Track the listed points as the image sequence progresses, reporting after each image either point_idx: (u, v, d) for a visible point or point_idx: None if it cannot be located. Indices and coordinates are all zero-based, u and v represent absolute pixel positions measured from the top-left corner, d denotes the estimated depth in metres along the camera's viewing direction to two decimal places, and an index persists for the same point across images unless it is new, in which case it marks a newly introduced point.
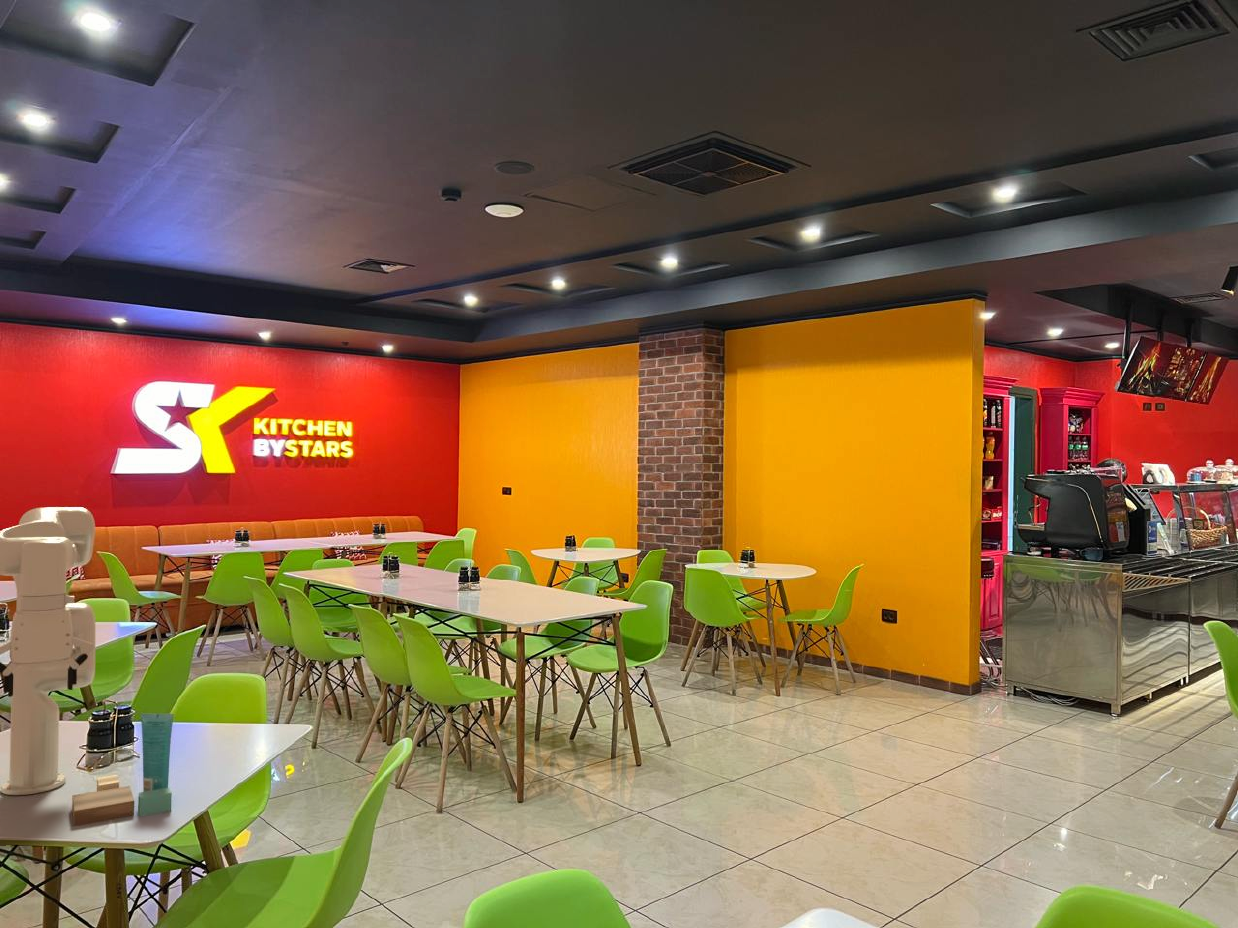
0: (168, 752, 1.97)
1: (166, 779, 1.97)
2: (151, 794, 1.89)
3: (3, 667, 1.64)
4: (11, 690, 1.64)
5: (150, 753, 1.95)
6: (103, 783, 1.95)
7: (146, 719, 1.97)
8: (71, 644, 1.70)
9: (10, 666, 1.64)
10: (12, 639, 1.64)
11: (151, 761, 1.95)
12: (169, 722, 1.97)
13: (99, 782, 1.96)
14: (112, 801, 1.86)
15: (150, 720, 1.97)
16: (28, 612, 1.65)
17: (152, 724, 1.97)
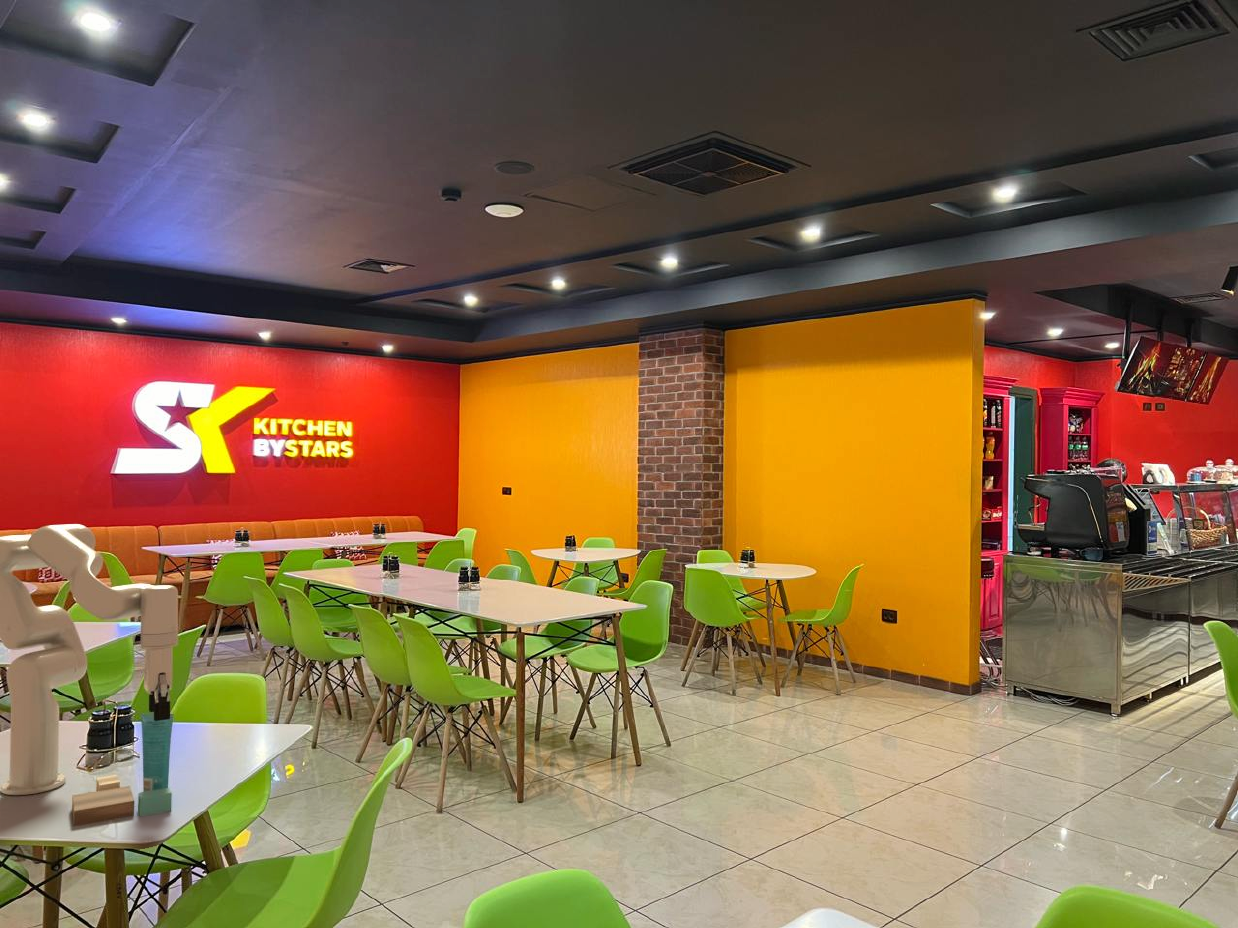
0: (168, 752, 1.97)
1: (166, 779, 1.97)
2: (151, 794, 1.89)
3: None
4: None
5: (150, 753, 1.95)
6: (103, 783, 1.95)
7: (146, 719, 1.97)
8: None
9: None
10: (170, 669, 1.95)
11: (151, 761, 1.95)
12: (169, 722, 1.97)
13: (99, 782, 1.96)
14: (112, 801, 1.86)
15: (150, 720, 1.97)
16: (174, 645, 1.97)
17: (152, 724, 1.97)
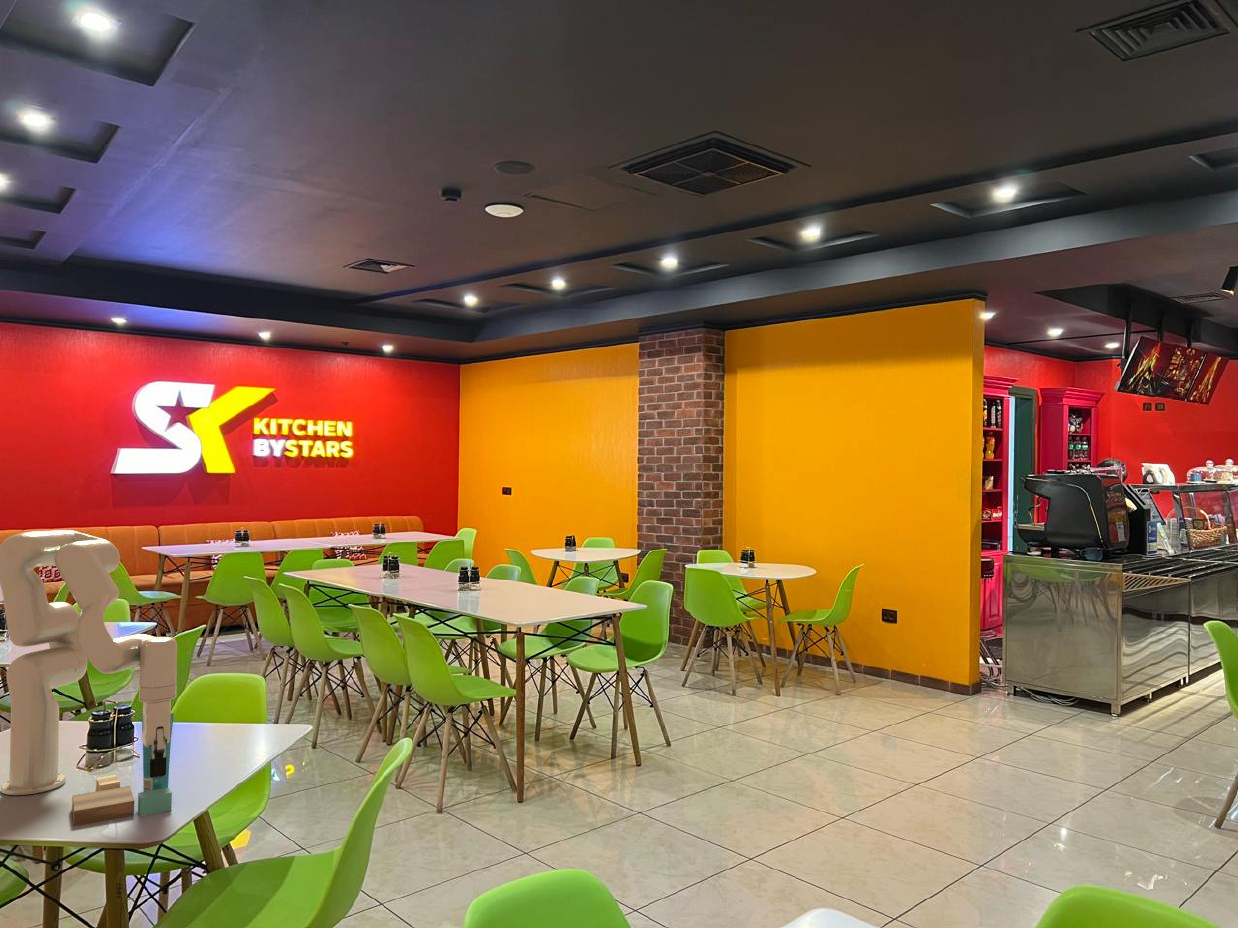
0: (168, 752, 1.97)
1: (166, 779, 1.97)
2: (152, 794, 1.89)
3: None
4: None
5: (150, 752, 1.96)
6: (104, 783, 1.96)
7: None
8: None
9: None
10: (168, 723, 1.94)
11: None
12: (170, 722, 1.97)
13: (99, 782, 1.96)
14: (112, 801, 1.86)
15: None
16: (173, 697, 1.97)
17: None
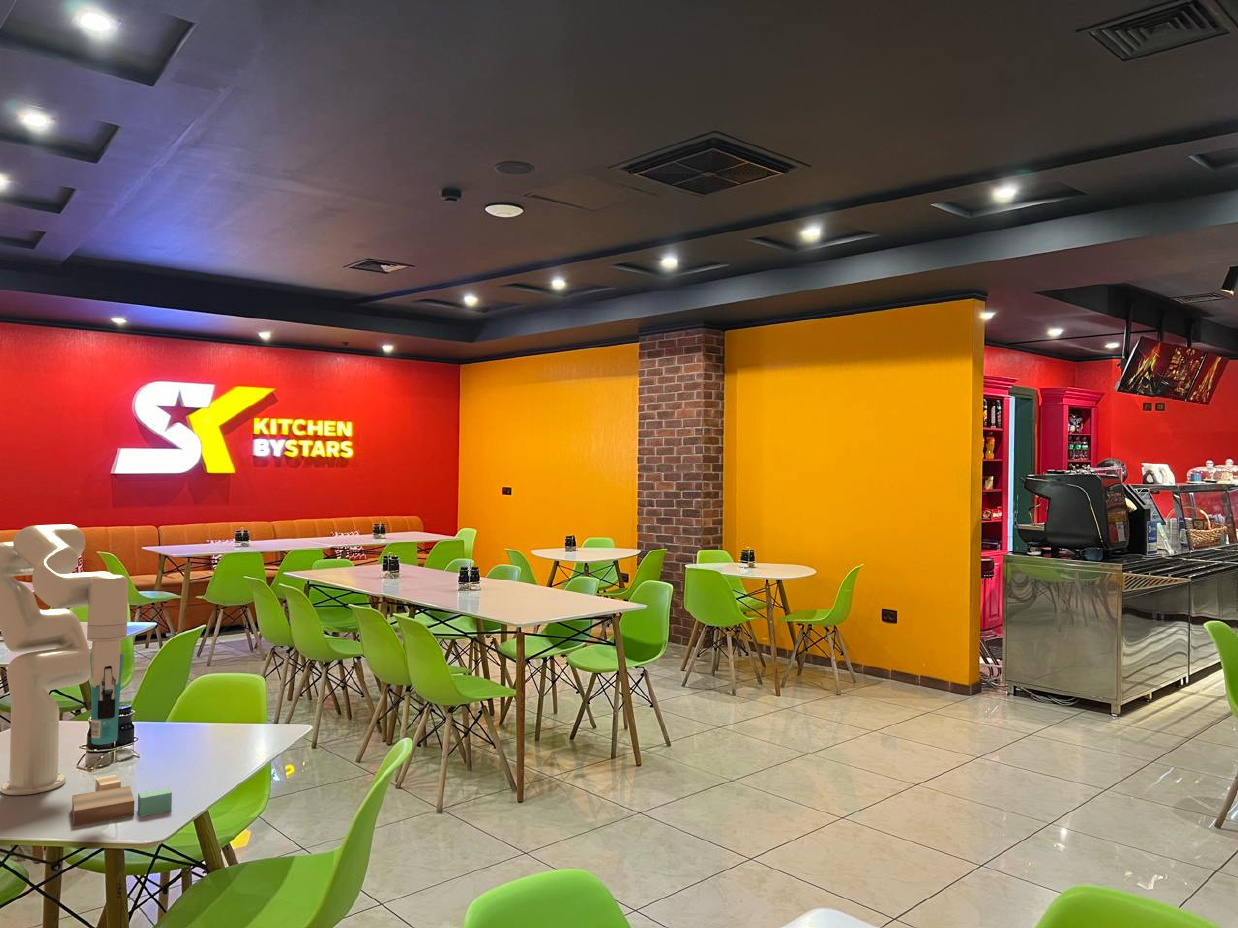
0: (118, 694, 1.89)
1: (115, 722, 1.89)
2: (152, 794, 1.89)
3: None
4: None
5: None
6: (104, 783, 1.96)
7: None
8: None
9: None
10: (117, 663, 1.87)
11: None
12: None
13: (100, 782, 1.96)
14: (112, 801, 1.86)
15: None
16: (123, 637, 1.89)
17: None
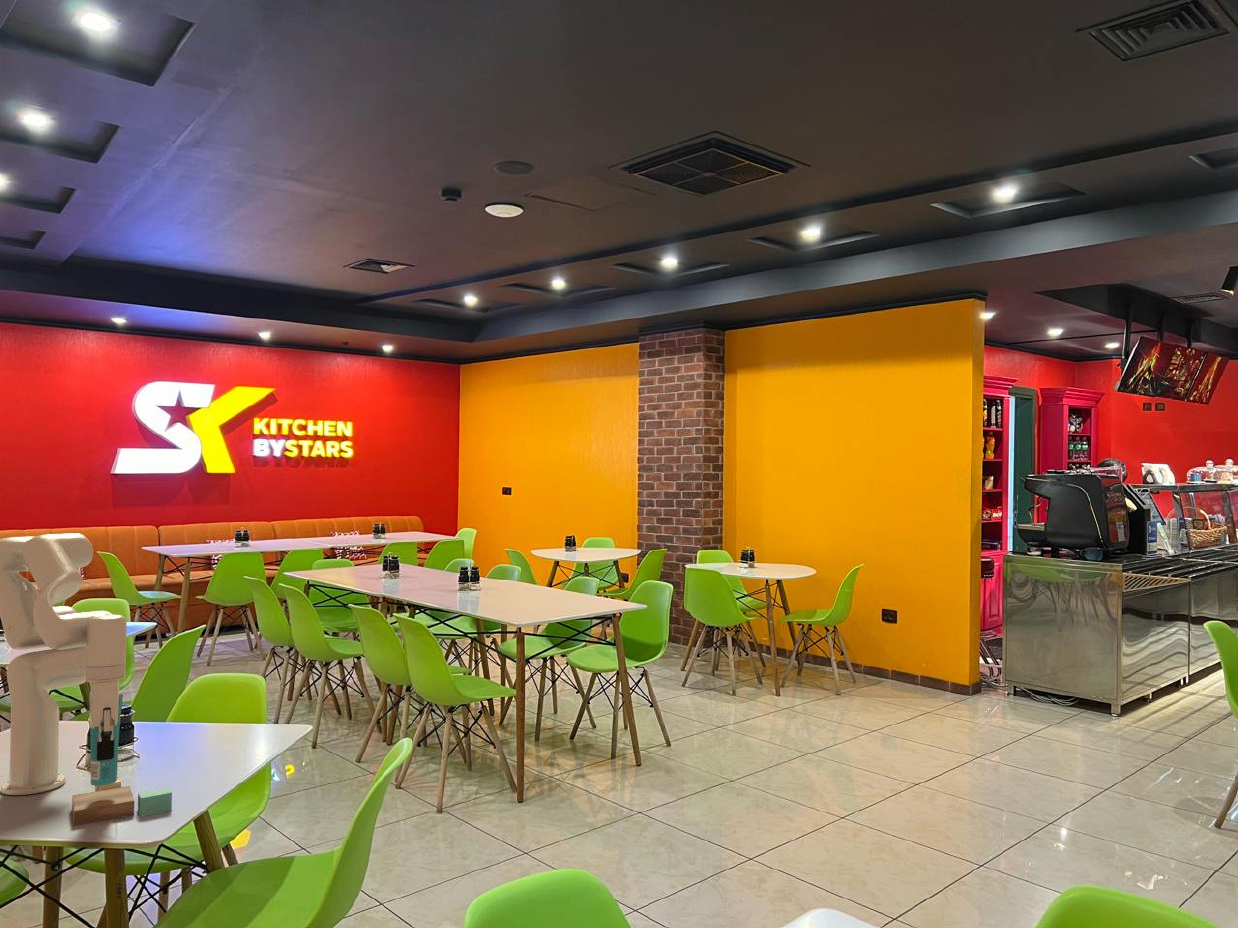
0: (117, 734, 1.89)
1: (115, 762, 1.88)
2: (152, 794, 1.89)
3: None
4: None
5: None
6: None
7: None
8: None
9: None
10: (116, 704, 1.86)
11: None
12: None
13: None
14: (112, 801, 1.86)
15: None
16: (121, 678, 1.89)
17: None
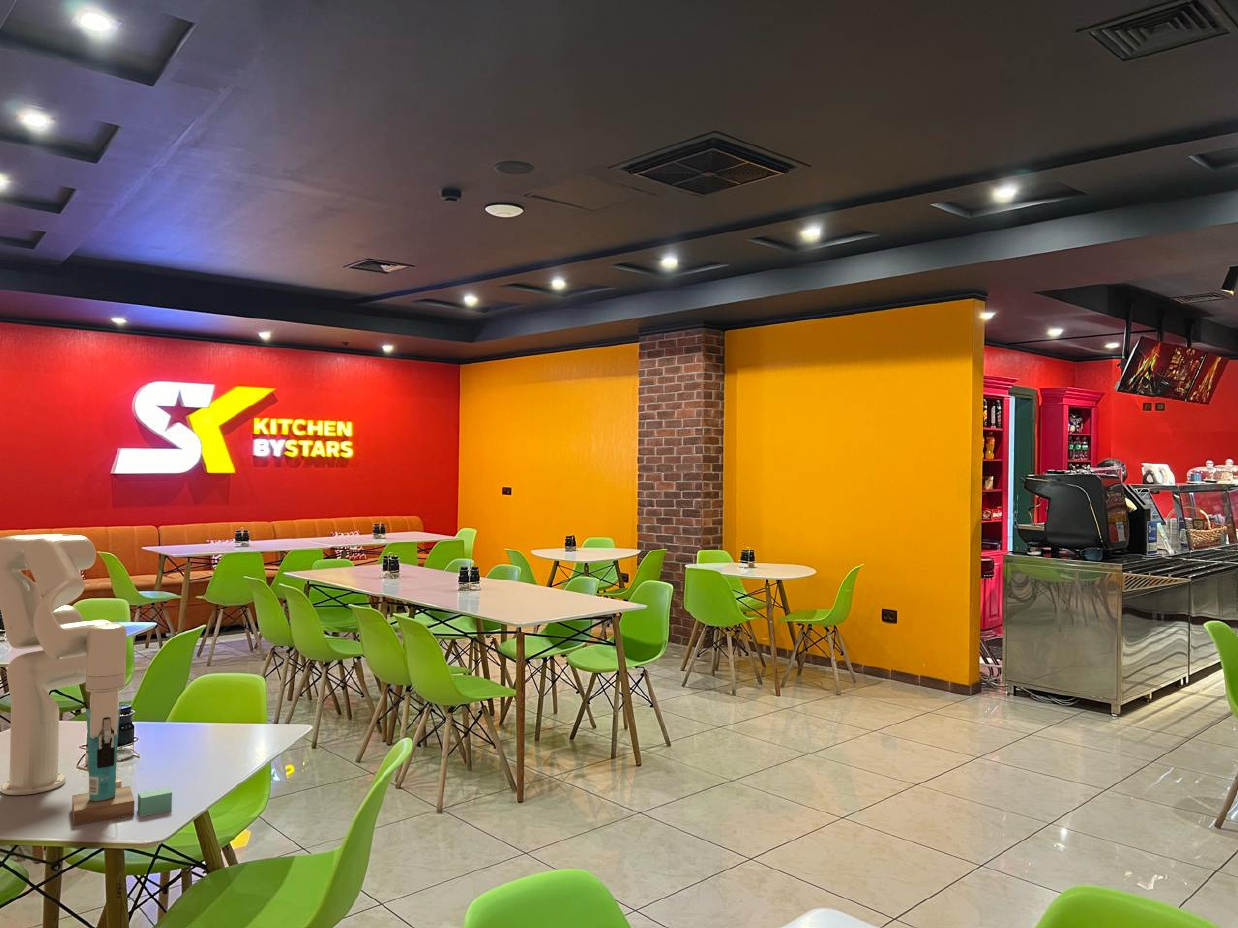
0: (115, 749, 1.89)
1: (113, 777, 1.89)
2: (152, 794, 1.89)
3: None
4: None
5: (95, 750, 1.87)
6: None
7: None
8: None
9: None
10: (115, 714, 1.86)
11: None
12: None
13: None
14: (112, 801, 1.86)
15: None
16: (121, 687, 1.89)
17: None
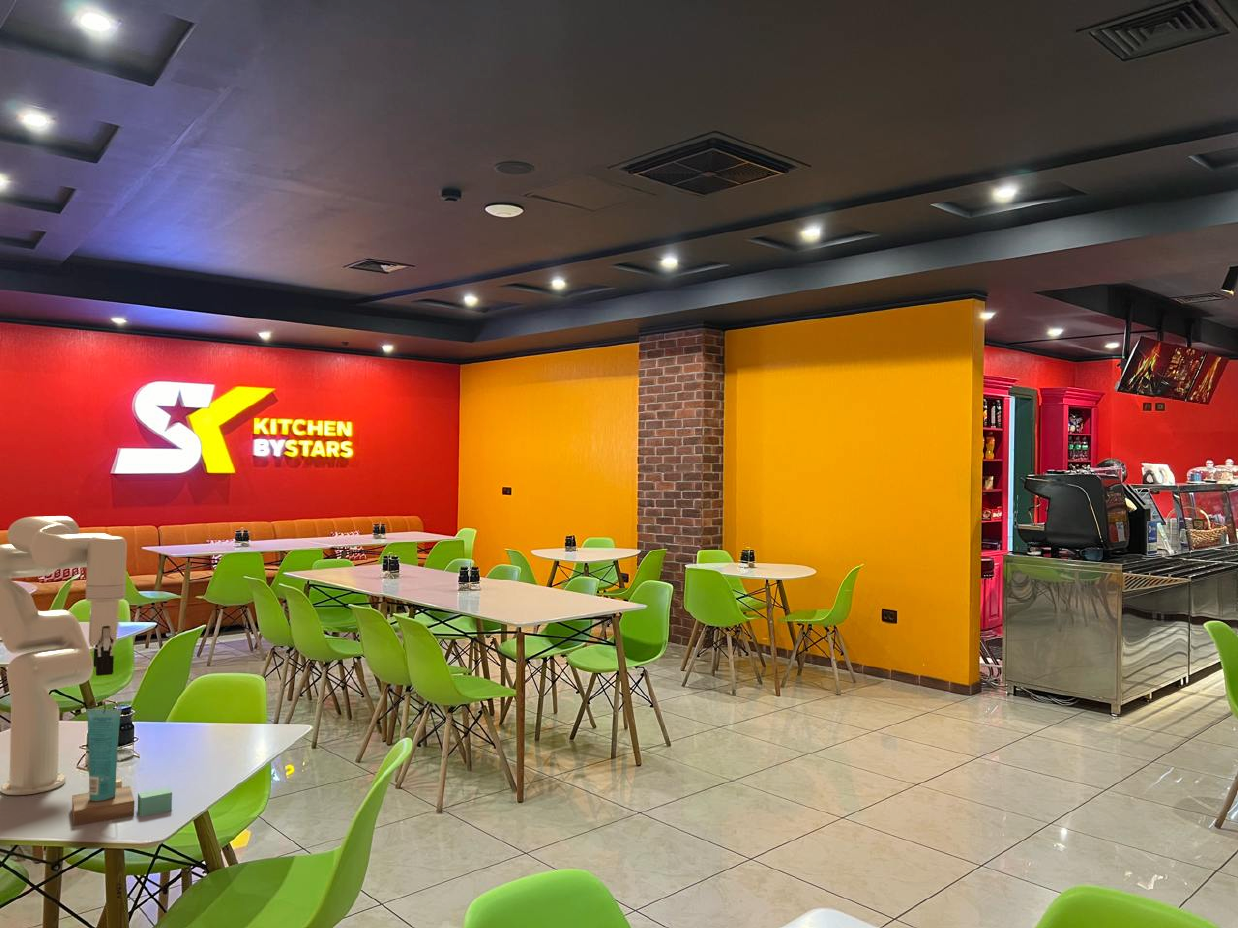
0: (115, 749, 1.89)
1: (113, 777, 1.89)
2: (152, 794, 1.89)
3: (109, 649, 1.86)
4: None
5: (96, 750, 1.87)
6: None
7: (92, 715, 1.89)
8: None
9: (112, 647, 1.87)
10: (115, 623, 1.88)
11: (97, 758, 1.87)
12: (116, 718, 1.89)
13: None
14: (112, 801, 1.86)
15: (96, 716, 1.89)
16: (121, 598, 1.90)
17: (98, 720, 1.89)
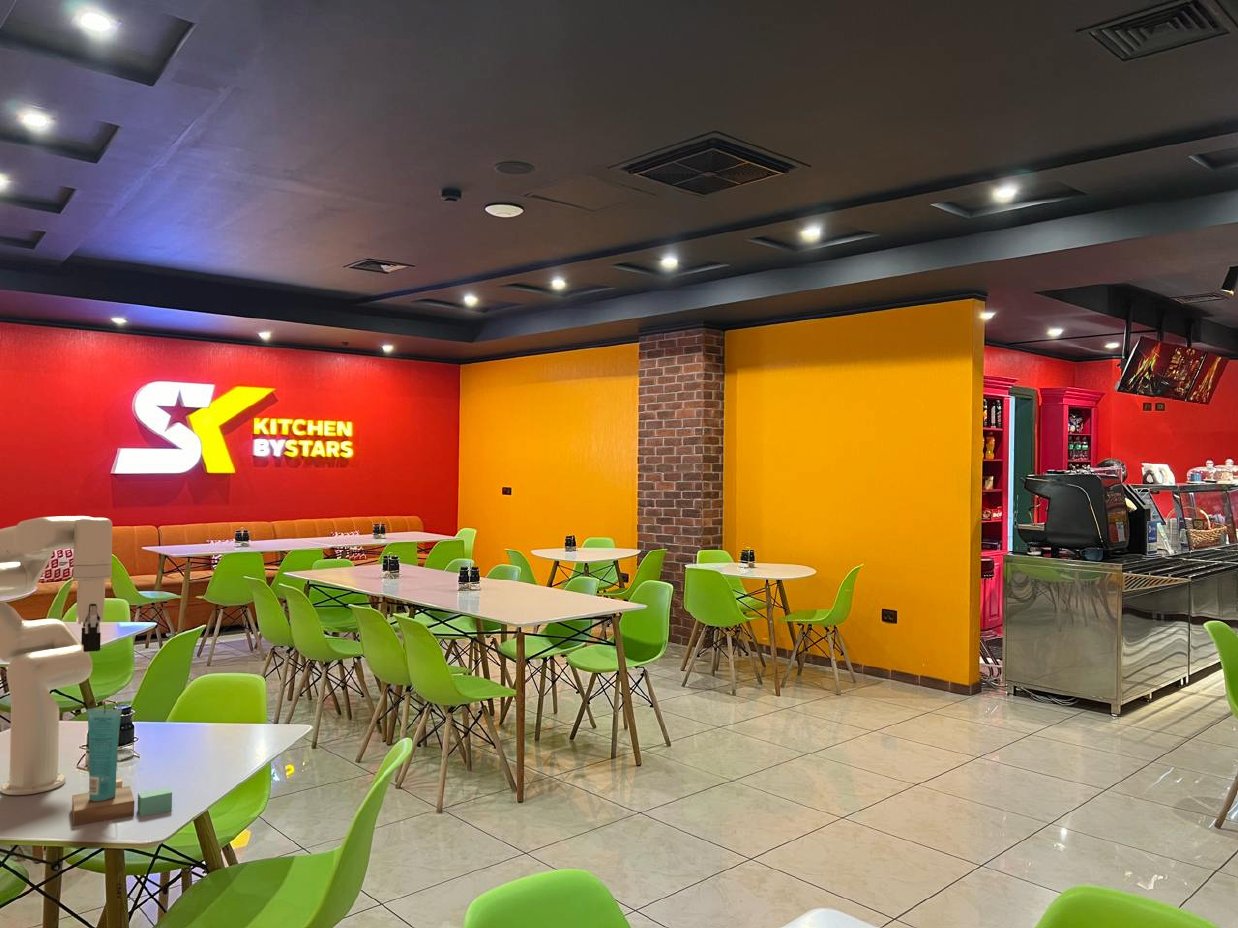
0: (116, 749, 1.89)
1: (113, 777, 1.89)
2: (152, 794, 1.89)
3: (96, 626, 1.92)
4: None
5: (96, 750, 1.87)
6: None
7: (93, 715, 1.89)
8: None
9: None
10: (101, 601, 1.94)
11: (98, 758, 1.87)
12: (117, 718, 1.89)
13: None
14: (112, 801, 1.86)
15: (97, 716, 1.89)
16: (107, 577, 1.96)
17: (98, 720, 1.89)
